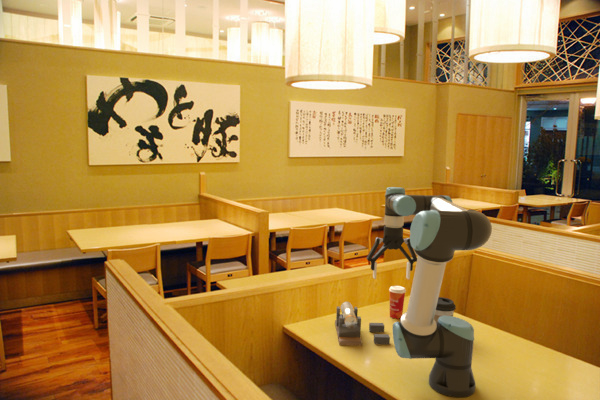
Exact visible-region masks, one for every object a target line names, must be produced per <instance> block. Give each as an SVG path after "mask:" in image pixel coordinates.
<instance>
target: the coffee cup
mask: <svg viewBox="0 0 600 400" xmlns="http://www.w3.org/2000/svg"><path fill="white" fill-rule="evenodd" d="M456 309H457V307H456V304H455V302H454V301H453V300H452V299H450V298H447V297H441V296H439V297H438V302H437V306H436V310H435V315H434V320H435V322H438V319H439V317H440V316H453V317H454V312H455V311H456Z"/></svg>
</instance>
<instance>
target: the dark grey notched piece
mask: <svg viewBox="0 0 600 400" xmlns="http://www.w3.org/2000/svg"><path fill="white" fill-rule="evenodd" d="M353 307H354V308H353V310H354V313H355V316H356V319H357V326H356V327H355V328H354V329H349V328H347V327H346V325H345V323H344V318H343V314H342V313H341V306H336V312H335V313H336V318H335V320H334V326H335V329H336V335H337V340H338V344H339V346H362V344H363V340H362V337H361V333H362V332H361V331H362V330H361V329H362V325H361V324H362V317H361V316H359V315H358V313H359V312H358V310H359V309H358V307H357V306H353Z"/></svg>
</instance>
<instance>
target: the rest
mask: <svg viewBox="0 0 600 400" xmlns="http://www.w3.org/2000/svg"><path fill="white" fill-rule="evenodd" d="M368 326H369V327H368V330H369V333H374V334H373V343H374V344H375V345H391V344H390V343H391V342H390V339H391V337H390V335H389V334H387V333H385V324H384V322H369V325H368ZM379 333H380V334H379Z"/></svg>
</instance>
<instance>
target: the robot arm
mask: <svg viewBox="0 0 600 400" xmlns="http://www.w3.org/2000/svg"><path fill="white" fill-rule="evenodd" d="M384 197H385V198H384V199H385V201H384V203H385V204H384V219H383V220H384V221H383V224H384V226H383V237H382V238H381V237H378V236H377V237H375V239H374V240H375V241H374V243H373V245H372V247H371V249H370V251H369V252H368V254H367V256H366V260H367V261H368V262H370V269H371V271H372V278H373V279H374V280H377V269H378V267H377V265H378V262H377V261H378V259H379V258H380V257H381V256H382V255H383V253H385V251H387V250H396V251H397V250H398V249H399V251H400V253H402V254H403V255H404V257H405V258H406V259H407V262H406V269H405V270H406V271H405V274H406V275H405V278H406V279H407V280H410V278H411V272H412V271H413V267H414V266H413V265H414V263H416V264H415V269H414V275H413V279H412V284H411V290H410V294H409V299H408V305H407V308H406V309H407V310H406V311H405V312H404V313H402V316H401V318H400V319H399V321H395V322H393V323H392V339H393V344H394V348H395V353H396V354H397V356H398V357H399V358H401V359H409V360H412V359H435V360H434V364H433V366H432V367H431V370H430V372H429V375H428V384H429V387H431V389H433V390H434V391H436V392H437V393H440V394H442V395H445V396H447V397H453V398H467V397H470V396H472V395H473V394H475V392H476V380H475V376H474V373H473V369H472V363H473V351H474V341H475V329H474V326H473V325H472V324H471V323H470V322H469V321H467V320H465V319H462V318H459V317H456V316H454V315H453V316H440V317H439V319H438V322H435V320H434V315H435V310H436V306H437V302H438V297H440V293H441V287H442V285H443V284H442V283H443V279H444V275H445V271H446V267H447V263H449V262H450V261H452V260H453V259H454V256H455V252H456V251H473V250H477V249H479V248H481V247H483V246H484V245H485V244H486V243H487V242H488V241H489V239H490V238H491V235H492V229H493V227H492V226H493V225H492V223H491V221H490V219H489V217H488V216H487V215H485V213H482V212H481V211H479V210H477V209H467V208H464V207H462V206H460V205H458V204H456V203H454V202H453V200H452V198H451V196H449V195H442V194H439V195H436V194H435V195H432V194H431V195H422V194H420V195H419V194H406V189H405V187H397V186H389V187H386V189H385V195H384ZM409 216H414V217H413V219H412V222H411V225H410V229H409V234H410V235H409V237H406V238H404V227H403V226H404V223H405V222H404V221H405V219H404V218H405V217H409ZM382 243H383V244H382ZM380 244H382V246H381V248H379V245H380ZM403 244H406V247H407V248H408V250H409V253H410V255H411V256H410V255H409V254H408V253H407V251H406V250H405V249H404V247H403V246H402V245H403ZM378 248H379V250H378V251H377V249H378ZM376 251H377V252H376Z"/></svg>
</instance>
